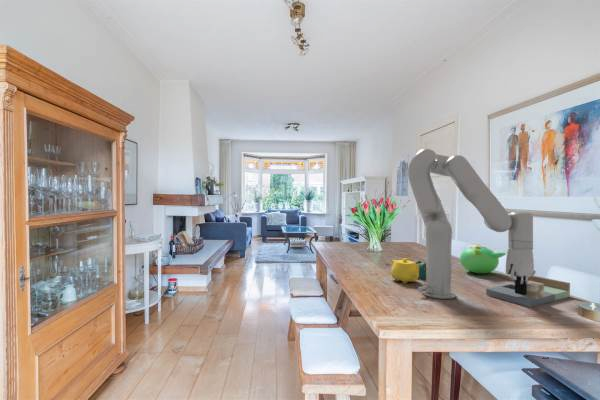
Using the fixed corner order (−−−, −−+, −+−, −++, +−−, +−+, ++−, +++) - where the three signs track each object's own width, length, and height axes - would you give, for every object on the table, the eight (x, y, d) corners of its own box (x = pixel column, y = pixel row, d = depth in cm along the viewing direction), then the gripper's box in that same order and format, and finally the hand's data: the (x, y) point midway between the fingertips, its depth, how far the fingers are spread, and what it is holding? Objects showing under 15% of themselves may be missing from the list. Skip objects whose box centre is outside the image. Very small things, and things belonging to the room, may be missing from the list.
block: (535, 299, 113) (535, 285, 113) (521, 295, 117) (521, 282, 117) (544, 297, 115) (544, 284, 115) (529, 293, 119) (530, 280, 119)
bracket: (421, 279, 150) (421, 263, 150) (410, 276, 157) (411, 260, 157) (447, 275, 158) (447, 260, 157) (437, 272, 164) (437, 258, 164)
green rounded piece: (485, 269, 171) (485, 242, 171) (507, 276, 155) (507, 247, 154) (454, 269, 170) (454, 243, 170) (473, 277, 153) (473, 248, 153)
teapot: (429, 284, 141) (429, 261, 141) (412, 287, 136) (412, 263, 136) (400, 275, 157) (400, 254, 157) (383, 278, 152) (383, 256, 152)
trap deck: (529, 307, 111) (529, 292, 111) (486, 294, 126) (486, 281, 125) (569, 296, 123) (569, 282, 123) (526, 286, 138) (526, 274, 138)
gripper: (521, 242, 122) (521, 288, 122) (497, 245, 115) (497, 293, 115) (543, 245, 115) (543, 294, 115) (519, 247, 109) (519, 299, 109)
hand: (520, 293), depth 115 cm, fingers closed
